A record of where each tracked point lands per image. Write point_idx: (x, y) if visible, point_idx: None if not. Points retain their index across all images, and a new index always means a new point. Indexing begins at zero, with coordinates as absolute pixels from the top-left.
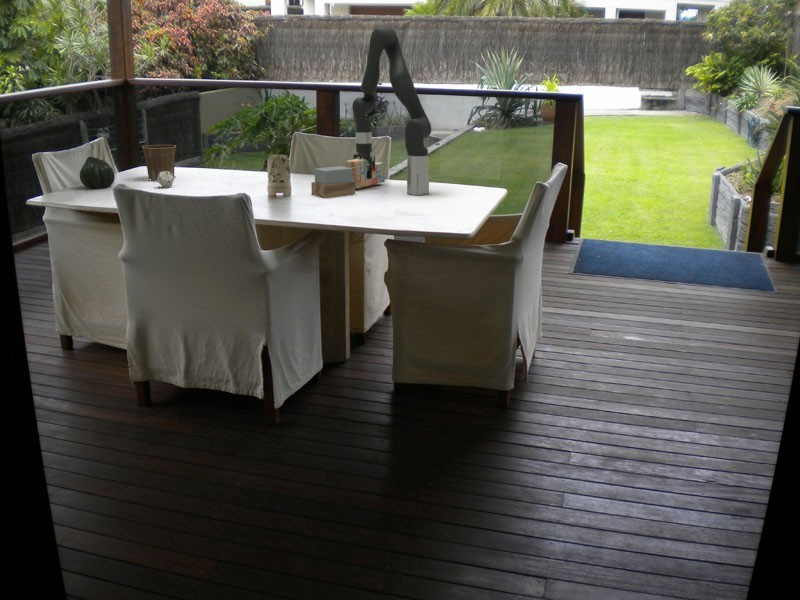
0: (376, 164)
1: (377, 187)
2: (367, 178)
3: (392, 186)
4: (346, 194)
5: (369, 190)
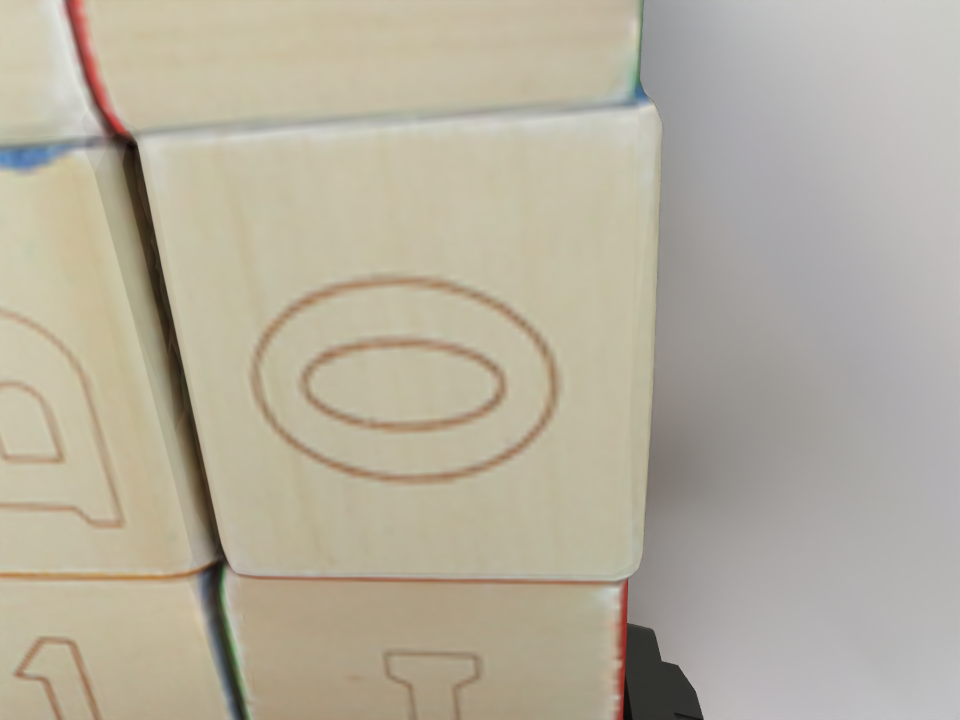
0: (625, 576)
1: None
2: None
3: (865, 30)
4: None
5: (708, 645)
